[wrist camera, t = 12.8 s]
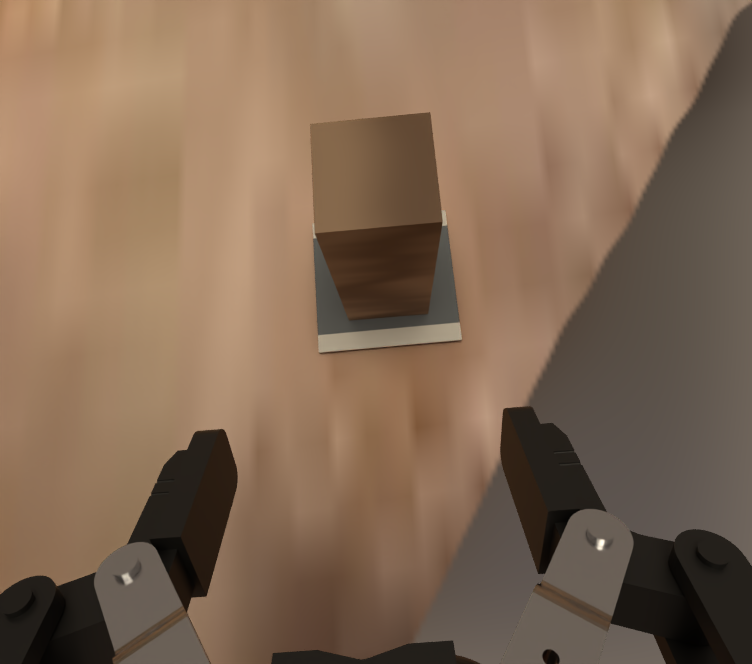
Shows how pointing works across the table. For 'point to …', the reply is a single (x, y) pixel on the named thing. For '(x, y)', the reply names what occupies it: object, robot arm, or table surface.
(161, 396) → the table surface
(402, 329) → the mat
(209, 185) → the table surface
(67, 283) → the table surface
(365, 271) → the block
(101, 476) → the table surface
